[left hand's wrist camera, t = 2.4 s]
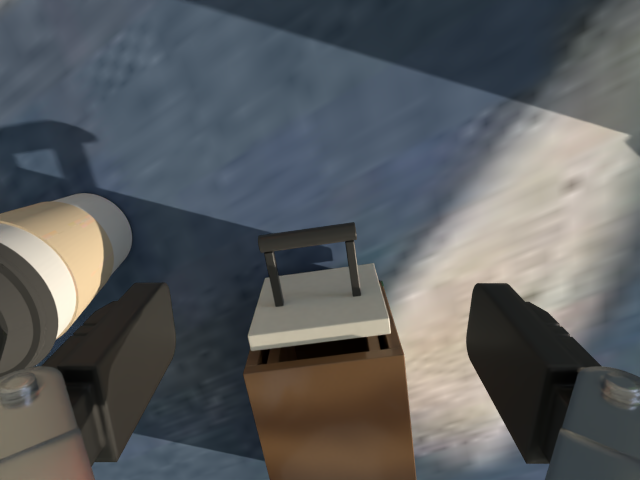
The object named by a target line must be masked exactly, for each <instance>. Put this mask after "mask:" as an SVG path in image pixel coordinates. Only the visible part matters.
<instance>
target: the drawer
mask: <svg viewBox="0 0 640 480" xmlns="http://www.w3.org/2000/svg"><path fill="white" fill-rule="evenodd" d="M354 240H357V236H356V228H355V223H354V222H352V223H345V224H338V225H331V226H324V227H316V228H309V229H302V230H295V231H288V232H281V233H274V234H267V235H260V236H259V237H258V245H259V249H260V252H261V253H264V252H265V253H264V255H265V260H266V264H267V269H268V274H269V278H265V280H264V283H263V287H262V290H261V293H260V297H259V300H258V303H257V306H256V310H255V313H254V316H253V320H252V323H251V326H250V330H249V333H248V340H249V344H250V348H251V351H256V350H264V349H270V352H269V357H268V362H267V364H270V363H278V362H286V361H294V360H302V359H310V358H318V357H326V356H335V355H343V354H351V353H359V352H367V351H375V350H381V348H380V344H379V339H378V335H384V334H390V333H391V330H390V321H389V316H388V312H387V309H386V305H385V302H384V298H383V295H382V291H381V288H380V284H379V281H378V277H377V274H376V270H375V267H374V264H373V263H372V264H365V265H357V260H356V252H355V244H354ZM344 241H345V244H346V251H347V258H348V266H349V267H343V268H335V269H328V270H321V271H313V272H306V273H298V274H291V275H284V276H279V274H278V269H277V264H276V259H275V254H274V251H279V250H286V249H293V248H301V247H308V246H315V245H322V244H329V243H337V242H344Z"/></svg>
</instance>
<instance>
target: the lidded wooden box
mask: <svg viewBox="0 0 640 480" xmlns="http://www.w3.org/2000/svg"><path fill="white" fill-rule="evenodd" d="M379 284H380V288H381V291H382V295H383V298H384V302H385V305H386V309H387V312H388V316H389V321H390V330H391V333H390V334H384V335H378V339H379V344H380V348H381V350H375V351H367V352H359V353H351V354H343V355H335V356H326V357H318V358H310V359H302V360H294V361H286V362H278V363H270V364H267V362H268V357H269V352H270V349H264V350H256V351H251V348H250V351H249V355H248V359H247V362H246V366H245V369H244V373H243V376H244V380H245V384H246V388H247V392H248V396H249V400H250V404H251V408H252V412H253V416H254V419H255V423H256V427H257V431H258V435H259V439H260V443H261V447H262V451H263V455H264V459H265V463H266V466H267V470H268V474H269V478H270V480H416V470H415V460H414V450H413V440H412V430H411V419H410V409H409V399H408V389H407V379H406V368H405V358H404V353H403V349H402V346H401V343H400V340H399V336H398V333H397V330H396V326H395V323H394V320H393V316H392V313H391V310H390V306H389V303H388V300H387V297H386V293H385V290H384V286H383V282H382V281H381V282H379Z"/></svg>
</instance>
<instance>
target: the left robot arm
mask: <svg viewBox="0 0 640 480" xmlns="http://www.w3.org/2000/svg"><path fill="white" fill-rule="evenodd" d="M73 334H74V335H73V336H70V337H69V338H68V339H67V340H66V341H65V343H64V344H63V345H62V346H61V347H60V348H59V349H58V350H57V351H56V352H55V353H54V354H53V355H52V356H51V357H50V358H49V359H48V360H47V361H46V362H45V363H44V364H43V365H42V366H38V367H30V368H25V369H21V370H18V371H14V372H12V373H9V374H7V375H4V376H2V377H0V480H95V478H94V475H93V471H92V468H91V467H92V465H93V463H94V462H117V461H118V459H119V457H120V455H121V453H122V452H123V450H124V448H125V446H126V444H127V442H128V440H129V439H130V437H131V435H132V433H133V431H134V429H135V427H136V426H137V424H138V422H139V420H140V418H141V416H142V414H143V413H144V411H145V409H146V407H147V405H148V403H149V401H150V400H151V398H152V396H153V394H154V392H155V390H156V388H157V387H158V385H159V383H160V381H161V379H162V377H163V375H164V373H165V372H166V370H167V368H168V366H169V364H170V362H171V360H172V358H173V356H174V352H175V346H176V334H175V326H174V319H173V311H172V304H171V297H170V290H169V287H168V285H167V284H166V283H134V284H133V285H132V286H131V287H130V289H129V290H128V291H127V292H126V293H125V294H124V295H123V296H122V297H121V298H120V299H119V300H118V301H113V302H111V303H109V304H108V305H106V306H104V307H102V308H100V309H99V310H97V311H95V312H94V313H93V314H92V315H91V316H90V317H89V318H88V319H87V320H86V321H85V322H84V323H83V326H80V327H79V328H78V329H77V330H76V331H75V332H74V333H73ZM466 344H467V352H468V356H469V359H470V361H471V363H472V364H473V366H474V368H475V370H476V372H477V374H478V375H479V377H480V379H481V381H482V383H483V385H484V387H485V388H486V390H487V392H488V394H489V396H490V398H491V399H492V401H493V403H494V405H495V407H496V409H497V410H498V412H499V414H500V416H501V418H502V420H503V421H504V423H505V425H506V427H507V429H508V431H509V432H510V434H511V436H512V438H513V440H514V442H515V443H516V445H517V447H518V449H519V451H520V453H521V454H522V456H523V458H524V460H525V462H526V464H550V465H549V468H548V471H547V475H546V478H545V480H640V377H638V376H636V375H633V374H631V373H628V372H626V371H622V370H619V369H615V368H610V367H602V366H601V365H600V364H599V363H598V362H597V361H596V360H595V359H594V358H593V357H592V356H591V355H590V354H589V353H588V352H587V351H586V350H585V349H584V348H583V347H582V346H581V345H580V344H579V343H578V342H577V341H576V340H575V339H574V338H573V337H570V334H569V333H568V332H567V331H566V330H565V329H564V328H563V327H560V324H559V323H558V322H557V321H556V320H555V319H554V318H553V317H552V316H551V315H550V314H549V313H548V312H546V311H545V310H543V309H541V308H539V307H537V306H536V305H534V304H532V303H530V302H525V301H524V300H523V299H522V298H521V297H520V296H519V295H518V294H517V293H516V292H515V291H514V290H513V289H512V287H511V286H510V285H509V284H507V283H477V284H476V285H475V286H474V289H473V293H472V300H471V307H470V314H469V321H468V329H467V336H466Z"/></svg>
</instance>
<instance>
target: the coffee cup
mask: <svg viewBox="0 0 640 480" xmlns="http://www.w3.org/2000/svg"><path fill="white" fill-rule="evenodd" d="M131 245H132V232H131V228H130V225H129V222H128V220H127V218H126V217H125V215H124V214H123V212H122V211H121V210H120V209H119V208H118V207H117V206H116V205H115V204H113V203H112V202H111V201H109V200H107V199H105V198H103V197H101V196H98V195H94V194H88V193H80V194H74V195H71V196H68V197H64V198H61V199H57V200H54V201H50V202H41V203H37V204H33V205H30V206H26V207H23V208H19V209H16V210H12V211H8V212H5V213H1V214H0V377H2V376H4V375H7V374H9V373H12V372H14V371H18V370H21V369H25V368H30V367H33V366H35V365H37V364H38V363H39V362H41V361H42V360H43V359H44V358H45V357H46V356H47V355H48V353H49V352H50V350H51V349H52V347H53V345H54V343H55V340H56V339H57V338H59V337H60V336H62V335H63V334H64V333H65V332H66V331H67V330H68V329H69V328H70V326H71V325H72V324H73V323H74V321H75V320H76V319H77V318H78V317H79V315H80V314H81V313H82V312H83V311H84V309H85V308H86V307H87V306H88V304H89V303H90V302H91V301H92V300H93V298H94V297H95V296H96V295H97V294H98V292H99V291H100V290H101V289H102V287H103V286H104V285H105V284H106V282H107V281H108V279H109V278H110V276H111V275H112V274H113V272H114V271H115V270H116V269H117V268H118V267H119V265H120V264H121V263H122V262H123V261H124V260H125V258H126V257H127V256H128V254H129V252H130V249H131Z"/></svg>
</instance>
